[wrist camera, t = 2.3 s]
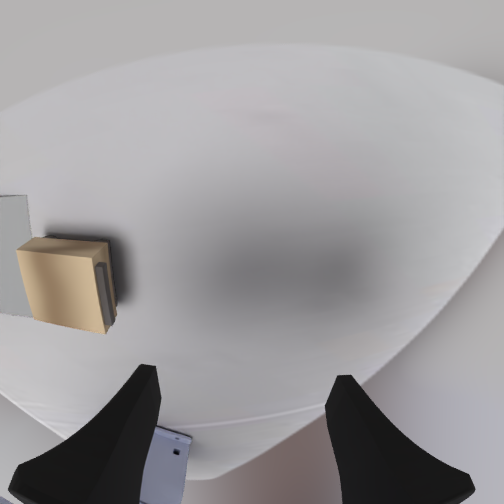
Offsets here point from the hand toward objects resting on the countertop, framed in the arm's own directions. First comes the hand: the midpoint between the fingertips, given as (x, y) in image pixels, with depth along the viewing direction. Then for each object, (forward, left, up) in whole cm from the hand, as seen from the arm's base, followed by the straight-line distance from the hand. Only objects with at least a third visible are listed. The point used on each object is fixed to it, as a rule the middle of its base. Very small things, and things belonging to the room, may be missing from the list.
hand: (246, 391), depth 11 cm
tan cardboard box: (+11, +4, -9) cm, 14 cm away
